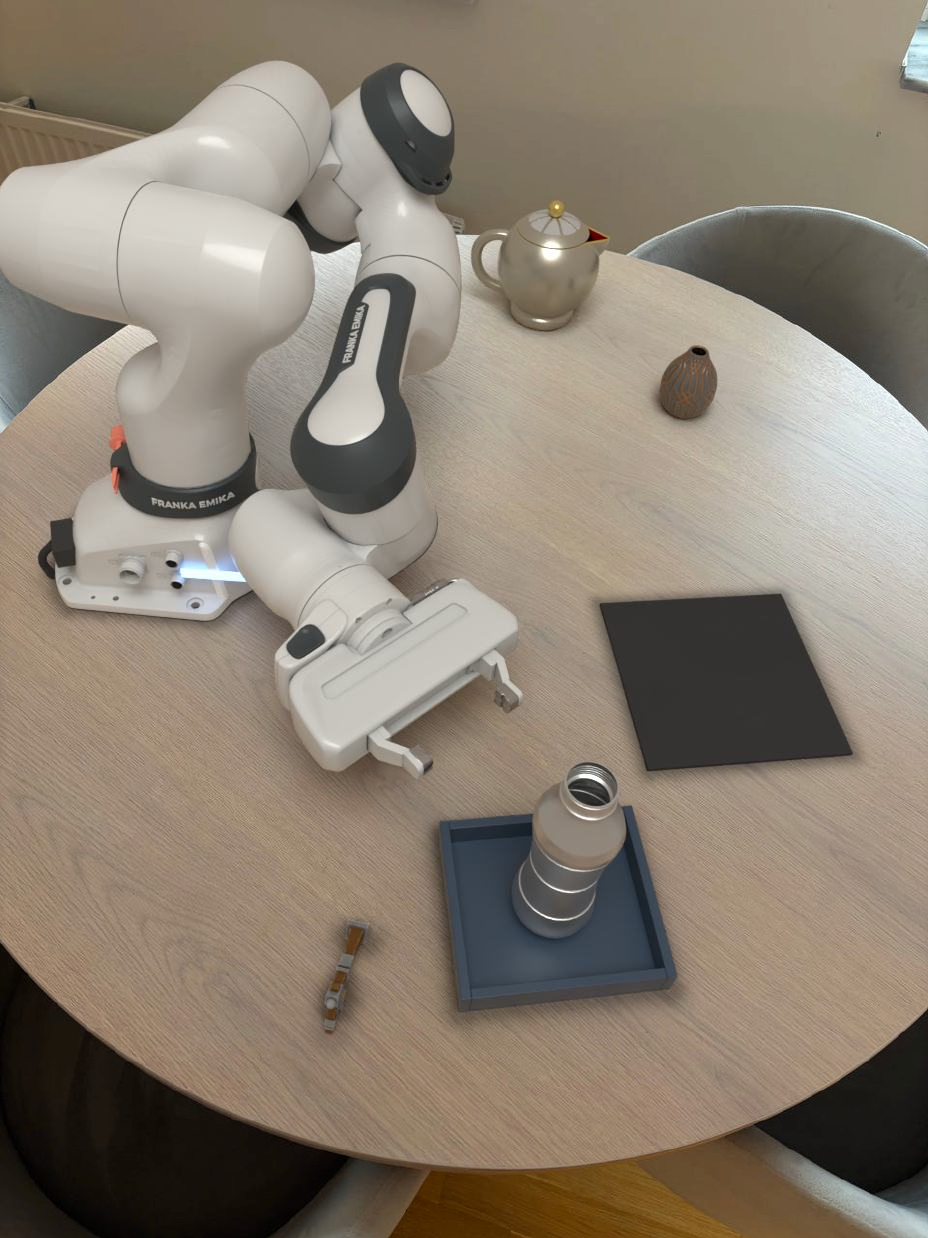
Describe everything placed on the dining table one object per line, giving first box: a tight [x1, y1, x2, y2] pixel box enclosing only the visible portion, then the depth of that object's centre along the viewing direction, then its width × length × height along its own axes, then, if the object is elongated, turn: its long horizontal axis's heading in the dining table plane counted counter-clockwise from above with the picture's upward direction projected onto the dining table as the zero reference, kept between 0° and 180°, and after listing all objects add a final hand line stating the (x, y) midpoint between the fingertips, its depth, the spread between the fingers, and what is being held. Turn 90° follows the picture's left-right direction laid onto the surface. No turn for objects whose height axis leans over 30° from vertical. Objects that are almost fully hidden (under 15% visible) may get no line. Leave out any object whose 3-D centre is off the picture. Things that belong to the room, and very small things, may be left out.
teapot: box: [470, 199, 611, 331], centre depth 127 cm, size 18×14×16 cm
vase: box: [659, 344, 718, 420], centre depth 118 cm, size 7×7×9 cm
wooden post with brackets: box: [324, 918, 371, 1035], centre depth 71 cm, size 2×8×4 cm, turn 169°
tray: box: [437, 805, 678, 1013], centre depth 76 cm, size 17×15×3 cm
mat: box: [599, 593, 854, 772], centre depth 94 cm, size 20×20×1 cm
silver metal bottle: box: [512, 760, 626, 939], centre depth 70 cm, size 6×7×20 cm
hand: (472, 736), depth 73 cm, fingers open, 8 cm apart
